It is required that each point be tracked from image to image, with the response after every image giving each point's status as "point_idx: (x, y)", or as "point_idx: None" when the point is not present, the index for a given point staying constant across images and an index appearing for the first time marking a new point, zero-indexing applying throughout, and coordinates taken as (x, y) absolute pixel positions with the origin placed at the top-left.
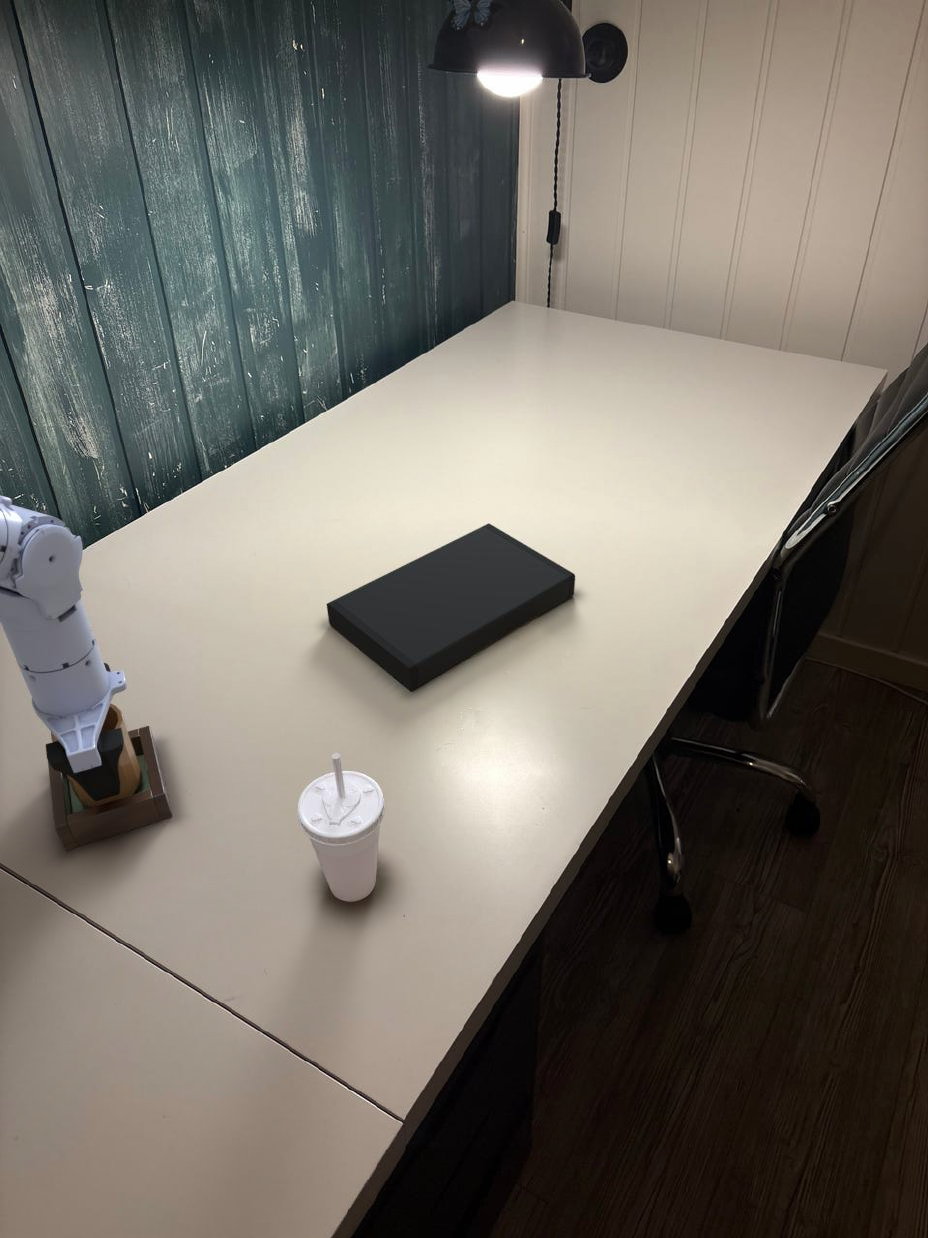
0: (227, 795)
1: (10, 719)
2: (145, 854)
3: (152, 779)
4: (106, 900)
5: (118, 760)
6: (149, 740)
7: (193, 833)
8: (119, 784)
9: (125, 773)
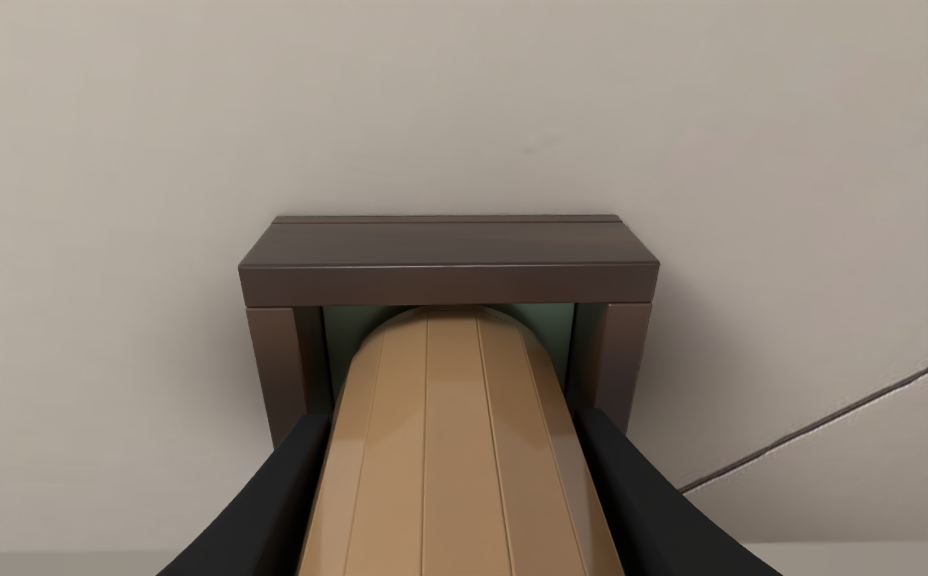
0: (627, 5)
1: (48, 551)
2: (706, 303)
3: (564, 293)
4: (780, 396)
5: (777, 572)
6: (336, 277)
7: (720, 164)
8: (624, 435)
9: (561, 405)
